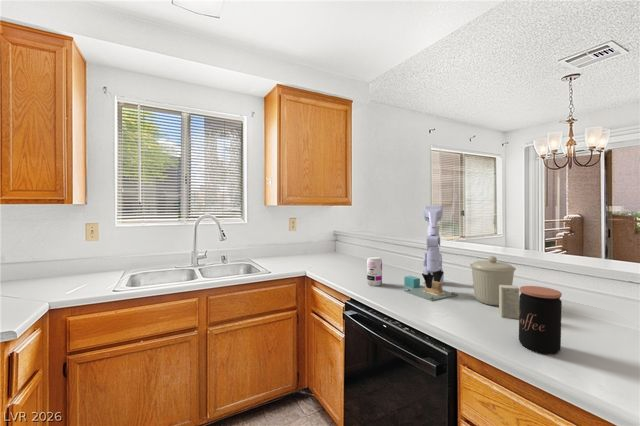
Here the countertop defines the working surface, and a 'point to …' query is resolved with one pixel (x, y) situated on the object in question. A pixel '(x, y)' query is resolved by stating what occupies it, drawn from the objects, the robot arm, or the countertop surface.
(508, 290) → the skincare box
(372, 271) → the supplement can
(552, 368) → the countertop surface
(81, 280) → the countertop surface
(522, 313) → the coffee jar
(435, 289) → the honey-wood brick
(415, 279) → the teal brick
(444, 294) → the baseplate
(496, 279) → the canister
